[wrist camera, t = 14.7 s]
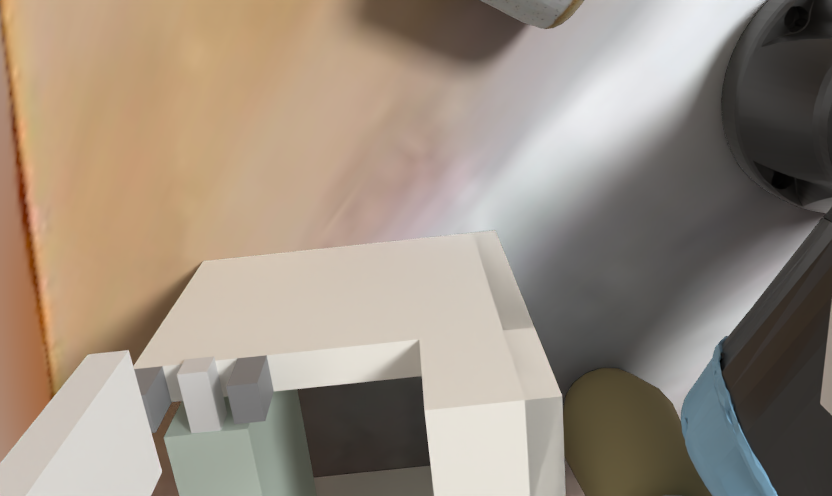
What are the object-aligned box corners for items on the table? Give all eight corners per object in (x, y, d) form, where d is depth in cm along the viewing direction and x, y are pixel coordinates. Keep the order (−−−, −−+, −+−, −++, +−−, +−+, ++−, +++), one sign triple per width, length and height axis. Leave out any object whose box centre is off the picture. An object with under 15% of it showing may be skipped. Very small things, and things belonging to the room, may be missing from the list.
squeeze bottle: (567, 342, 50) (655, 525, 34) (675, 364, 51) (813, 553, 34) (533, 437, 53) (599, 651, 36) (636, 456, 54) (747, 674, 37)
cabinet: (495, 230, 47) (562, 395, 29) (511, 479, 54) (573, 742, 36) (203, 260, 47) (80, 446, 29) (257, 505, 55) (186, 781, 36)
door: (275, 269, 44) (234, 369, 33) (323, 533, 51) (304, 689, 40) (210, 276, 44) (147, 378, 33) (267, 539, 51) (233, 696, 40)
